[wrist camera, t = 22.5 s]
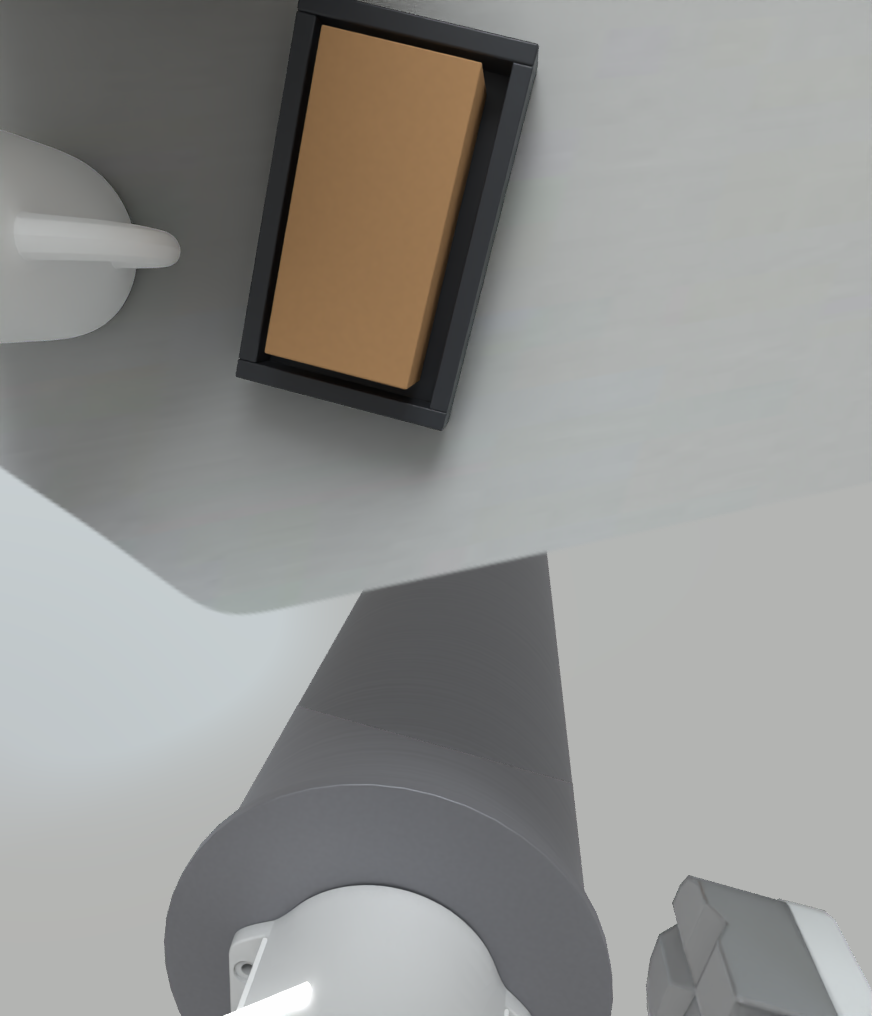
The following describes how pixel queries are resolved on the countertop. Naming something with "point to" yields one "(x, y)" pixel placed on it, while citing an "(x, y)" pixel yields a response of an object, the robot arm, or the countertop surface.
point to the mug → (65, 245)
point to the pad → (374, 205)
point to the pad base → (477, 222)
